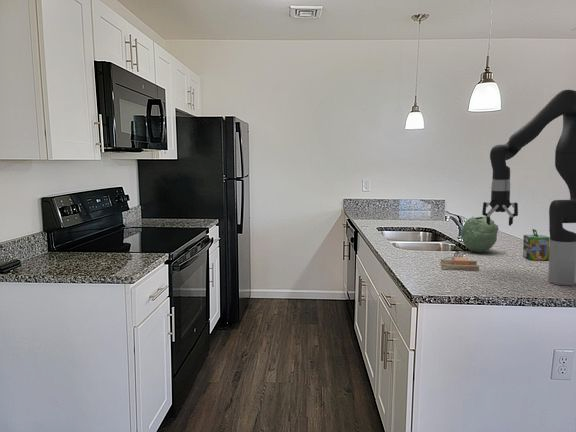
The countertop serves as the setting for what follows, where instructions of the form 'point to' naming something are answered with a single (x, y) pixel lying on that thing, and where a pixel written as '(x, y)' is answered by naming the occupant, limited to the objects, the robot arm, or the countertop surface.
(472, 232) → the cabbage
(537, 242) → the chalk box
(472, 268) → the chute
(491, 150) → the robot arm
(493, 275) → the countertop surface
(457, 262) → the terracotta block
